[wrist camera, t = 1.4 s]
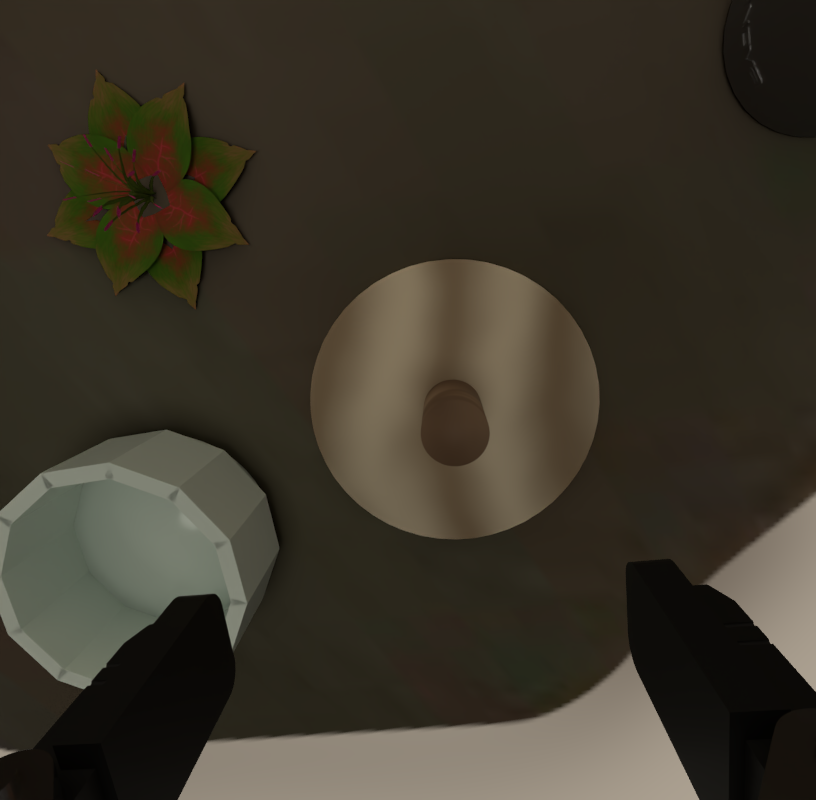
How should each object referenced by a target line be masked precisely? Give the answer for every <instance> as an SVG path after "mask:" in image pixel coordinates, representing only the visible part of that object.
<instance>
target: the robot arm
mask: <svg viewBox="0 0 816 800" xmlns="http://www.w3.org/2000/svg"><path fill="white" fill-rule="evenodd" d="M723 53H724V60H725V67H726V73H727V76H728V79H729V82H730V84H731V87H732V89H733V92H734V94H735V96H736V97H737V99H738V100H739V101H740V103H741V104H742V106H743V107H744V109H745V110H746V111H747V112H748V113H749V114H750V115H751V116H753V117H754V118H755V119H756V120H757V121H758V122H759V123H761V124H763V125H765V126H767V127H769V128H770V129H772V130H774V131H776V132H779V133H783V134H787V135H792V136H796V137H816V0H733V1H732V3H731V5H730V9H729V13H728V17H727V21H726V25H725V31H724V49H723ZM626 592H627V617H628V637H629V644H630V650H631V654H632V658H633V661H634V664H635V667H636V670H637V672H638V674H639V676H640V678H641V680H642V682H643V684H644V686H645V688H646V691H647V693H648V695H649V697H650V699H651V701H652V703H653V705H654V707H655V709H656V711H657V713H658V715H659V717H660V719H661V721H662V724H663V726H664V728H665V730H666V732H667V734H668V736H669V738H670V740H671V742H672V744H673V746H674V748H675V750H676V752H677V754H678V756H679V759H680V761H681V763H682V765H683V767H684V769H685V771H686V773H687V775H688V777H689V779H690V781H691V783H692V785H693V787H694V789H695V791H696V794H697V796H698V798H699V800H816V692H815V691H814V690H813V689H812V687H811V686H810V685H809V684H808V683H807V682H806V681H805V679H804V678H803V677H802V676H801V675H800V674H799V673H798V672H797V670H796V669H795V668H794V667H793V666H792V665H791V664H790V663H789V661H788V660H787V659H786V658H785V657H784V656H783V655H782V654H781V652H780V651H779V650H778V649H777V648H776V647H775V646H774V645H773V644H770V642H769V639H768V638H767V637H766V636H765V634H764V633H763V632H762V631H761V630H760V629H759V628H758V627H757V626H754V624H753V621H752V620H751V619H750V618H749V616H748V615H747V614H746V613H745V612H744V611H743V610H742V608H741V607H740V606H739V605H738V604H737V603H736V602H735V601H734V600H732V599H731V598H729V597H727V596H726V595H724V594H722V593H721V592H719V591H717V590H716V589H714V588H712V587H711V586H709V585H695V586H693V585H692V584H691V583H690V582H689V580H688V579H687V578H686V577H685V575H684V574H683V573H682V572H681V570H680V569H679V568H678V567H677V565H676V564H675V563H674V562H673V561H672V560H671V559H662V560H649V561H637V562H628V564H627V566H626ZM106 664H107V665H106V668H102V669H101V670H100V672H99V673H98V674H97V675H96V676H95V677H94V679H93V680H92V681H91V685H90V686H87V687H86V688H85V689H84V690H83V691H82V692H81V694H80V695H79V696H78V697H77V698H76V699H75V701H74V702H73V703H72V704H71V705H70V706H69V708H68V709H67V710H66V711H65V712H64V713H63V714H62V716H61V717H60V718H59V719H58V720H57V721H56V723H55V724H54V725H53V726H52V727H51V728H50V730H49V731H48V732H47V733H46V734H45V735H44V737H43V738H42V739H41V740H40V741H39V742H38V743H37V745H36V746H35V747H34V748H33V749H27V750H22V751H18V752H15V753H11V754H8V755H6V756H4V757H2V758H0V800H178V798H179V796H180V794H181V792H182V790H183V788H184V786H185V784H186V782H187V780H188V778H189V776H190V774H191V772H192V770H193V768H194V766H195V764H196V762H197V760H198V758H199V756H200V754H201V752H202V750H203V748H204V746H205V744H206V742H207V740H208V738H209V736H210V734H211V732H212V730H213V728H214V726H215V725H216V723H217V721H218V719H219V717H220V715H221V713H222V711H223V709H224V707H225V705H226V703H227V701H228V699H229V697H230V695H231V692H232V689H233V685H234V680H235V659H234V654H233V650H232V645H231V641H230V637H229V632H228V628H227V624H226V619H225V615H224V611H223V606H222V603H221V600H220V598H219V597H218V596H217V595H216V594H202V595H189V596H179V597H176V598H175V599H174V600H173V601H172V602H171V603H170V604H169V605H168V607H167V608H166V609H165V610H164V611H163V613H162V614H161V615H160V616H159V617H158V619H157V620H156V621H155V622H154V623H153V624H149V625H148V626H147V627H145V628H144V629H143V630H141V631H140V632H138V633H137V634H136V635H134V636H133V637H132V638H130V639H129V640H127V641H126V642H125V643H124V644H123V645H122V646H121V647H120V648H119V650H118V651H117V652H116V653H115V654H114V655H113V657H112V658H111V659H110V660H109V661H108V662H107V663H106Z"/></svg>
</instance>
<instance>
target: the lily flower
mask: <svg viewBox="0 0 816 800" xmlns="http://www.w3.org/2000/svg"><path fill="white" fill-rule="evenodd" d="M183 95H184V83H183V84H182V85H180V86H179V87H178V88H177V89H174V90H172V91H170V92H168V93H166V94H164V95H163V98H162V99H159V98H155V99H153V100H151V101H149V102H147V103H145V104H144V105H142V106H140V105H139V104H138V103H137V102H136V101H135V100H134V99H133V98H131V97H130V96H129V95H128V94H127V93H125V92H124V91H123V90H121V89H120V88H118V87H117V86H115V85H114V84H113V83H109V82H105V79H104V77H103V76H102V75H101V74H100V73H99V72H98V71H97V70H96V81H95V84H94V89H93V96H94V99H93V100H91V101H90V106H89V112H88V126H89V133H90V134H82V135H76V136H73V137H71V138H68V139H66V140H63V141H62V142H61V144H60V145H59V146H58V145H57V144H52V145H48V146H49V148H50V149H51V151H52V152H53V155H54V157H55V160H56V162H57V163H58V164H59V165H60V166H61V168H60V172H61V174H62V176H63V178H64V180H65V182H66V184H67V185H68V186H69V187H70V188H71V191H70V192H69V193H68V194H67V196H66V197H65V198H64V199H63V201H62V203H61V205H60V208H59V210H58V213H57V215H56V218H55V227H56V228H52V229H51V231H50V232H49V233H48V235H47V236H50V237H56V238H59V239H62V240H64V241H67V240H70V241H71V243H72V244H75V245H78V246H82V247H87V248H95V249H96V252H97V256H98V258H99V261H100V263H101V265H102V267H103V269H104V271H105V273H106V275H107V276H108V278H109V279H111V281H112V282H113V283H114V285H113V289H114V292H115V296H116V295H117V294H118V293H119V291H120V290H122V289H123V288H124V287H126V286H127V285H128V282H133V281H134V280H135V279H136V278H138V277H139V276H140V275H141V274H142V273H144V272H145V271H146V270H147V271H148V272H149V273H150V275H151V276H152V277H153V278H154V279H155V280H156V281H157V282H158V283H159V284H160V285H161V286H162V287H164V288H165V289H167V290H168V291H170V292H171V293H173V294H175V295H176V296H178V297H179V298H184V299H187V300H188V301H187V302H188V303H189V304H190V305H191V306H192V307H193V308H194V309H195V310H196V301H195V300H196V297H197V292H198V288H197V284H199V281H200V274H201V265H202V251H204V250H213V249H219V248H225V247H229V246H230V245H232V244H234V243H237V244H238V245H249V244H248V243H247V242H246V240H245V239H244V238H242V235H241V234H240V232H239V231H238V229H237V227H236V226H235V225H234V224H232V223H231V218H230V216H229V215H228V213H227V212H226V210H225V209H224V208H223V206H222V205H221V204H220V201H221V200H222V199H223V198H224V197H225V196H226V195H227V193H228V192H229V191H230V189H231V188H232V186H233V185H234V183H235V182H236V180H237V179H238V177H239V175H240V174H241V172H242V170H243V169H244V165H245V161H246V160H248V159H250V157H251V156H252V155H253V154H254V153H255V152H256V151H252V150H247V151H246V149H243V148H240V147H237V146H235V145H234V146H229V145H228V143H226V142H224V141H221V140H217V139H213V138H207V137H206V138H205V137H194V138H191V137H190V131H189V122H188V114H187V108H186V103H185V102H184V99H183ZM125 135H126V136H127V138H126V142H127V150H128V151H127V150H126V149H125V148H124V147H123V146H124V138H125ZM157 174H158V176H159V178H160V180H161V182H162V184H163V186H164V188H165V190H166V192H167V195H168V199H169V202H170V206H168V207H166V208H165V209H163V210H161V211H159V212H158V213H156V214H153V215H150V216H147V217H144V218H143V217H142V214H143V211H144V210H145V208H146V207H147V205H148V204H149V203H150V202H152V203H154V201H153V200H154V199H153V198H155V197H153V196H151V195H153V194H156V193H155V192H153V178H154V177H155V176H156V175H157ZM185 174H187V175H189V176H192V177H195V179H194V181H193V180H188V179H183V177H184V176H185ZM150 175H152V178H151V180H150V184H149V187H150V190H149V189H147V188H145V187H144V186H143V185H142V184H141V183H140V181H139V179H141V178H144V177H146V176H150ZM135 181H136V182H137V184H138V185H139V186H138V185H137V184H136V182H135ZM129 188H130V189H129ZM130 190H132V191H130ZM142 198H145V199H143V200H141V201H140V202H138V203H136V204H135V203H134V201H135V200H137V199H142ZM156 199H157V198H156ZM145 201H146V203H145V204H144V205H143V206H142V208H141V210H140V212H139V210H138V208H137V206H138V205H139V204H141V203H143V202H145ZM154 205H156V204H155V203H154ZM156 206H157V207H159V208H161V207H160V206H158V205H156ZM102 209H110V210H109V211H108V212H107V213H106V214H105V215H104V216H103V218H102V219H101V221H98V220H94V221H86V220H88V219H89V218H90V217H92V216H93V217H94V216H95V215H97V213H99V212H100V211H101V210H102ZM161 209H162V208H161ZM85 221H86V222H85ZM164 236H165V238H166V239H167V240H168V241H169V242H170V243H171V244H173V245H174V246H173V249H171V248H170V247H169V246H167V245H166V244H164V243H163V238H164Z"/></svg>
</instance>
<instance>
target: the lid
mask: <svg viewBox="0 0 816 800" xmlns="http://www.w3.org/2000/svg"><path fill="white" fill-rule="evenodd" d="M310 401H311V417H312V423H313V429H314V433H315V436H316V440H317V443H318V447H319V449H320V451H321V453H322V456H323V458H324V460H325V462H326V464H327V466H328V468H329V469H330V471H331V473H332V474H333V476H334V477H335V479H336V480H337V481H338V483H339V484H340V485H341V486H342V488H343V489H344V490H345V491H346V493H347V494H349V495H350V496H351V497H352V498H353V499H354V500H355V501H356V502H357V503H358V504H359V505H360V506H361V507H363V508H364V509H365V510H367V511H368V512H369V513H371V514H372V515H374V516H375V517H377V518H379V519H380V520H382V521H384V522H386V523H387V524H390V525H392V526H394V527H397V528H399V529H401V530H404V531H407V532H410V533H414V534H417V535H421V536H426V537H432V538H438V539H468V538H477V537H482V536H487V535H492V534H495V533H498V532H501V531H504V530H507V529H510V528H512V527H514V526H516V525H518V524H521V523H523V522H525V521H527V520H528V519H530V518H531V517H533V516H535V515H536V514H538V513H539V512H541V511H542V510H543V509H544V508H546V507H547V506H548V505H549V504H551V503H552V502H553V501H554V500H555V499H556V498H557V497H558V496H559V495H560V494H561V493H562V492H563V491H564V490H565V489H566V488H567V487H568V485H569V484H570V482H571V481H572V480H573V478H574V477H575V476H576V474H577V473H578V471H579V469H580V468H581V466H582V464H583V462H584V460H585V459H586V457H587V454H588V452H589V449H590V447H591V444H592V441H593V439H594V434H595V430H596V426H597V422H598V413H599V403H600V402H599V382H598V376H597V371H596V365H595V362H594V359H593V356H592V353H591V350H590V347H589V345H588V343H587V341H586V339H585V337H584V335H583V333H582V331H581V329H580V328H579V326H578V325H577V323H576V322H575V320H574V319H573V317H572V316H571V314H570V313H569V312H568V311H567V310H566V309H565V308H564V306H563V305H562V304H561V303H560V302H559V301H558V300H557V299H556V298H555V297H554V296H552V295H551V294H550V293H549V292H548V291H546V290H545V289H544V288H543V287H541V286H540V285H538V284H537V283H535V282H534V281H532V280H530V279H529V278H527V277H526V276H523V275H521V274H519V273H517V272H515V271H512V270H510V269H508V268H505V267H501V266H498V265H495V264H491V263H488V262H481V261H475V260H466V259H446V260H437V261H429V262H425V263H421V264H417V265H413V266H409V267H407V268H404V269H402V270H399V271H397V272H394V273H392V274H390V275H388V276H386V277H384V278H383V279H381V280H379V281H377V282H376V283H374V284H372V285H371V286H370V287H369V288H367V289H366V290H365V291H363V292H362V293H361V294H359V295H358V296H357V297H356V298H355V299H354V300H353V301H352V302H351V303H350V304H349V305H348V306H347V307H346V308H345V309H344V310H343V312H342V313H341V314H340V316H339V317H338V318H337V320H336V321H335V322H334V324H333V325H332V327H331V329H330V331H329V332H328V334H327V336H326V338H325V339H324V341H323V344H322V346H321V349H320V351H319V354H318V356H317V359H316V363H315V367H314V371H313V375H312V384H311V393H310Z"/></svg>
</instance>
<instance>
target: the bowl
mask: <svg viewBox="0 0 816 800" xmlns="http://www.w3.org/2000/svg"><path fill="white" fill-rule="evenodd" d="M279 549H280V548H279V544H278V540H277V536H276V532H275V528H274V524H273V521H272V515H271V512H270V509H269V505H268V501H267V497H266V494H265V493H264V492H263V491H262V490H261V489H260V488H259V486H258V485H257V483H256V481H255V480H254V479H253V478H252V476H251V475H250V474H249V473H248V472H247V470H246V469H244V468H243V467H242V466H241V465H240V464H239V463H238V462H237V461H236V460H234V459H233V458H232V457H230V456H229V455H228V453H227V452H226V451H225V450H222V449H220V448H217V447H214V446H212V445H210V444H208V443H205V442H203V441H200V440H197V439H193V438H190V437H186V436H183V435H181V434H178V433H175V432H172V431H169V430H167V429H166V430H161V431H155V432H148V433H142V434H136V435H130V436H124V437H118V438H112V439H108V440H106V441H104V442H102V443H100V444H98V445H96V446H94V447H92V448H90V449H88V450H86V451H84V452H82V453H80V454H78V455H76V456H74V457H72V458H70V459H68V460H66V461H64V462H62V463H60V464H58V465H56V466H54V467H52V468H50V469H48V470H46V471H44V472H42V473H41V474H39V475H38V476H37V477H36V478H35V479H34V480H33V481H32V482H31V483H30V484H29V485H28V486H27V487H26V488H25V489H24V490H22V491H21V492H20V493H19V494H18V495H17V496H16V497H15V498H14V499H13V500H12V501H11V502H10V503H9V504H8V505H6V506H5V507H4V508H3V509H2V510H1V511H0V615H1V617H2V620H3V622H4V625H5V627H6V630H7V633H8V635H9V636H10V637H11V638H13V639H14V640H15V641H16V642H17V643H18V644H19V645H20V646H21V647H22V648H23V649H24V650H26V651H27V652H28V653H29V654H30V655H31V656H32V657H33V658H34V659H35V660H36V661H37V662H39V663H40V664H41V665H42V666H43V667H44V668H45V669H46V670H47V671H48V672H49V673H50V674H52V675H53V676H54V677H55V678H56V679H57V680H59V681H62V682H64V683H67V684H70V685H73V686H76V687H79V688H82V689H85V688H86V687H87V686H90V685H91V681H92V680H93V679H94V677H95V676H96V675H97V674H98V673H99V672H100V670H101V669H102V668H106V665H107V664H106V663H107V662H108V661H109V660H110V659H111V658H112V657H113V655H114V654H115V653H116V652H117V651H118V650H119V648H120V647H121V646H122V645H123V644H124V643H125V642H126V641H127V640H129V639H130V638H132V637H133V636H134V635H136V634H137V633H138V632H140V631H141V630H143V629H144V628H145V627H147V626H148V625H149V624H153V623H154V622H155V621H156V620H157V619H158V617H159V616H160V615H161V614H162V613H163V611H164V610H165V609H166V608H167V607H168V605H169V604H170V603H171V602H172V601H173V600H174V599H175V598H176V597H179V596H189V595H202V594H216V595H217V596H218V597H219V598H220V600H221V603H222V606H223V611H224V615H225V619H226V624H227V628H228V632H229V637H230V641H231V645H232V650H233V652H234V650H235V648H236V646H237V644H238V643H239V641H240V639H241V637H242V635H243V633H244V632H245V630H246V628H247V626H248V624H249V622H250V621H251V619H252V617H253V615H254V613H255V611H256V610H257V608H258V606H259V604H260V602H261V600H262V599H263V597H264V594H265V591H266V588H267V585H268V582H269V579H270V576H271V573H272V570H273V567H274V564H275V561H276V558H277V555H278V552H279Z"/></svg>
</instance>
